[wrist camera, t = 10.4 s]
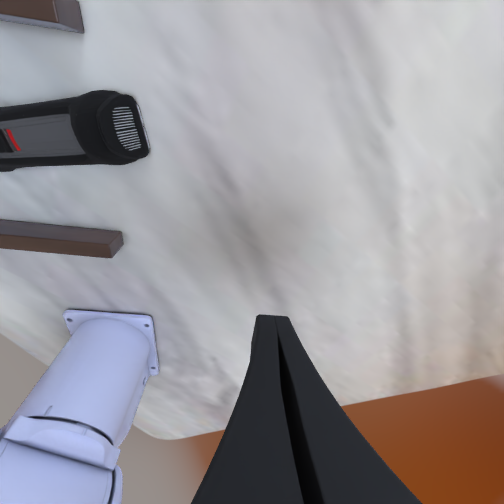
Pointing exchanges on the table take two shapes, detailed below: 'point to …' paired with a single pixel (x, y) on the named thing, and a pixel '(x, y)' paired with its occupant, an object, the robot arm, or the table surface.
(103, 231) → the dock
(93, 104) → the electric trimmer
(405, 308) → the table surface
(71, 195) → the table surface
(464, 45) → the table surface
